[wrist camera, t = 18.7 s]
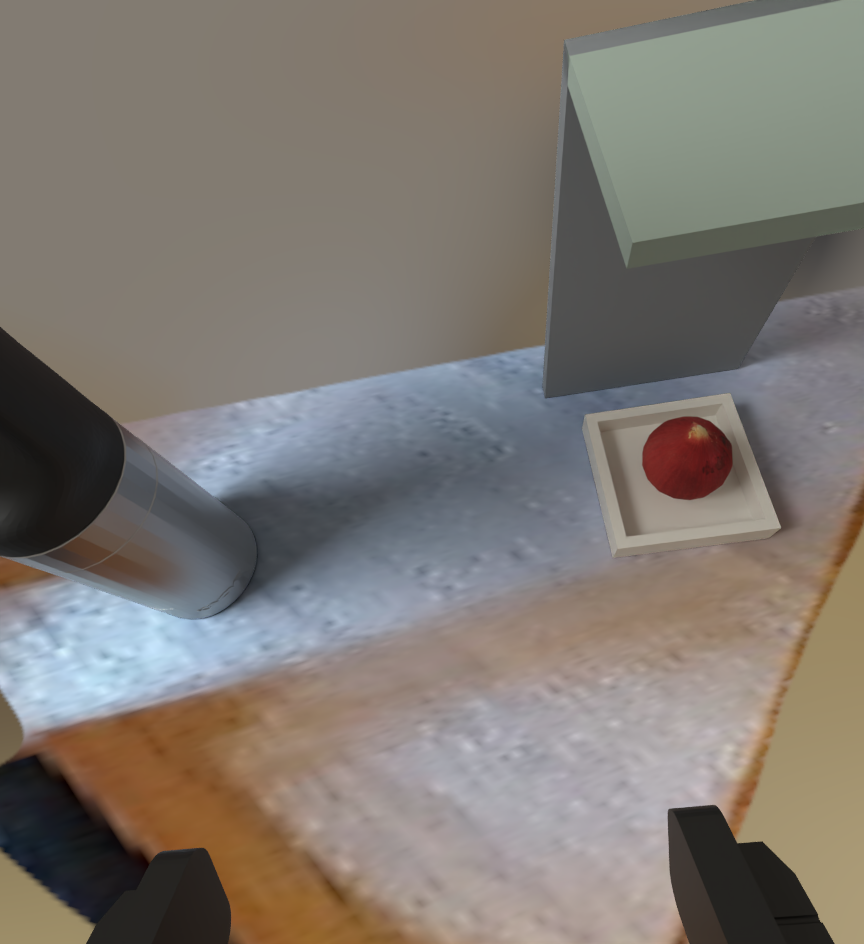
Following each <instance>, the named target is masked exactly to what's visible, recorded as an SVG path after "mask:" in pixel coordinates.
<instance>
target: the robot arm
mask: <svg viewBox="0 0 864 944" xmlns="http://www.w3.org/2000/svg"><path fill="white" fill-rule="evenodd" d="M0 556H1V557H4V558H7V559H10V560H13V561H16V562H19V563H22V564H25V565H28V566H30V567H33V568H36V569H40V570H43V571H46V572H49V573H51V574H54V575H57V576H60V577H63V578H66V579H69V580H72V581H75V582H78V583H80V584H83V585H86V586H89V587H92V588H95V589H98V590H101V591H104V592H106V593H109V594H112V595H115V596H118V597H121V598H124V599H127V600H130V601H133V602H135V603H138V604H141V605H144V606H147V607H149V608H152V609H155V610H158V611H161V612H164V613H167V614H170V615H173V616H175V617H178V618H184V619H202V618H205V617H208V616H212V615H214V614H216V613H218V612H220V611H222V610H224V609H225V608H227V607H228V606H229V605H230V604H232V603H233V602H234V601H235V600H236V599H237V598H238V597H239V596H240V595H241V594H242V592H243V591H244V590H245V588H246V586H247V585H248V583H249V582H250V580H251V577H252V575H253V572H254V569H255V565H256V559H257V545H256V541H255V537H254V534H253V533H252V531H251V529H250V527H249V526H248V525H247V524H246V522H245V521H244V520H243V519H242V518H240V517H239V516H238V515H236V514H235V513H234V512H233V511H231V510H230V509H229V508H227V507H226V506H225V505H224V504H222V503H221V502H220V501H219V500H217V499H216V498H215V497H214V496H212V495H211V494H210V493H208V492H207V491H206V490H205V489H203V488H202V487H201V486H199V485H198V484H197V483H196V482H194V481H193V480H192V479H190V478H189V477H188V476H187V475H185V474H184V473H183V472H181V471H180V470H179V469H178V468H176V467H175V466H174V465H172V464H171V463H170V462H169V461H167V460H166V459H165V458H163V457H162V456H161V455H160V454H158V453H157V452H156V451H154V450H153V449H152V448H151V447H149V446H148V445H147V444H145V443H144V442H143V441H142V440H140V439H139V438H138V437H136V436H135V435H133V434H132V433H131V432H129V431H128V430H127V429H126V428H124V427H123V426H122V425H120V424H119V423H118V422H116V421H115V420H114V419H113V418H111V417H110V416H109V415H108V414H107V413H105V412H104V411H103V410H101V409H100V408H99V407H98V406H96V405H95V404H94V403H92V402H91V401H90V400H88V399H87V398H86V397H85V396H84V395H82V394H81V393H80V392H79V391H78V390H76V389H75V388H74V387H73V386H72V385H70V384H69V383H68V382H67V381H66V380H64V379H63V378H62V377H61V376H59V375H58V374H57V373H56V372H54V371H53V370H52V369H51V368H50V367H48V366H47V365H46V364H44V363H43V362H42V361H41V360H40V359H38V358H37V357H35V356H34V355H33V354H32V353H31V352H30V351H28V350H27V349H26V348H24V347H23V346H22V345H21V344H20V343H18V342H17V341H16V340H15V339H14V338H13V337H11V336H10V335H9V334H8V333H6V331H4V330H3V329H2V328H1V327H0ZM668 837H669V864H670V877H671V883H672V888H673V893H674V897H675V901H676V904H677V908H678V911H679V915H680V918H681V921H682V923H683V926H684V929H685V932H686V935H687V938H688V941H689V943H690V944H834V942H833V940H832V939H831V937H830V935H829V933H828V931H827V930H826V928H825V926H824V925H823V923H821V922H820V920H819V918H818V914H817V912H816V910H815V908H814V907H813V905H812V903H811V901H810V900H809V898H808V896H807V894H806V892H805V891H804V889H803V887H802V886H801V884H800V882H799V880H798V878H797V877H796V875H795V873H794V872H793V871H792V870H791V869H790V868H788V867H787V866H786V865H785V864H784V863H783V862H782V861H781V860H780V859H779V858H778V857H777V856H776V855H775V854H774V853H773V852H772V851H771V850H770V849H769V848H768V847H767V846H766V845H765V844H764V843H763V842H750V843H738V844H737V842H736V840H735V838H734V836H733V834H732V832H731V830H730V828H729V826H728V824H727V822H726V820H725V818H724V816H723V814H722V812H721V811H720V809H719V808H718V807H717V806H716V805H707V806H696V807H685V808H673V809H669V810H668ZM230 927H231V910H230V904H229V901H228V899H227V896H226V894H225V892H224V889H223V887H222V884H221V882H220V880H219V877H218V875H217V872H216V870H215V867H214V865H213V863H212V860H211V858H210V855H209V853H208V851H207V850H206V849H204V848H194V849H182V850H171V851H162V852H160V853H158V854H157V855H156V856H155V857H154V859H153V860H152V861H151V863H150V865H149V867H148V869H147V870H146V872H145V874H144V876H143V878H142V880H141V882H140V884H139V886H138V888H137V890H134V891H125V892H124V893H123V894H122V896H121V897H120V898H119V899H118V900H117V901H116V903H115V904H114V905H113V906H112V907H111V908H110V910H109V911H108V912H107V913H106V914H105V915H104V917H103V918H102V919H101V920H100V921H99V922H98V923H97V925H96V926H95V928H94V930H93V932H92V934H91V936H90V937H89V939H88V941H87V943H86V944H228V940H229V935H230Z"/></svg>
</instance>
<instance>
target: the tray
mask: <svg viewBox="0 0 864 944" xmlns="http://www.w3.org/2000/svg"><path fill="white" fill-rule="evenodd" d="M683 416H694V417H700V418H703V419H706V420H709V421H711V422H712V423H713V424H714V425H715V426H716V427H718V428H719V429H720V430H721V431H722V432H723V433H724V434H725V436H726V437H727V439H728V440H729V441H730V443H731V444H732V457H733V466H732V469H731V471H730V473H729V475H728V477H727V478H726V480H725V482H724V483H723V485H722V486H720V487H719V488H718V489H716V490H715V491H713V492H712V493H710V494H709V495H707V496H705V497H703V498H698V499H693V500H683V499H675V498H672V497H670V496H667V495H665V494H663V493H661V492H659V491H658V490H657V489H656V488H655V487H654V486H653V485H652V484H651V483H650V481H649V480H648V479H647V477H646V474H645V471H644V469H643V466H642V452H643V447H644V445H645V443H646V441H647V439H648V437H649V435H650V434H651V433H652V432H653V431H654V430H655V429H656V428H657V427H659V426H660V425H661V424H662V423H663V422H665V421H667V420H670V419H675V418H679V417H683ZM582 431H583V435H584V439H585V443H586V447H587V452H588V456H589V460H590V464H591V468H592V473H593V477H594V481H595V485H596V490H597V494H598V498H599V502H600V506H601V511H602V515H603V519H604V523H605V527H606V532H607V536H608V540H609V544H610V548H611V553H612V557H613V558H618V557H626V556H634V555H641V554H649V553H657V552H665V551H673V550H681V549H689V548H697V547H704V546H712V545H720V544H728V543H736V542H744V541H752V540H760V539H768V538H769V537H771V536H772V535H773V534H774V533H776V532H777V531H778V530H779V529H781V526H780V523H779V521H778V518H777V515H776V513H775V510H774V507H773V505H772V502H771V500H770V497H769V494H768V492H767V489H766V486H765V484H764V481H763V478H762V476H761V473H760V471H759V468H758V465H757V463H756V460H755V457H754V455H753V452H752V450H751V447H750V444H749V442H748V439H747V436H746V434H745V431H744V429H743V426H742V423H741V421H740V418H739V415H738V413H737V410H736V407H735V405H734V402H733V400H732V397H731V394H730V393H726V394H720V395H713V396H706V397H699V398H693V399H686V400H679V401H673V402H666V403H659V404H653V405H646V406H639V407H633V408H626V409H619V410H613V411H606V412H599V413H593V414H586V415H585V417H584V422H583V427H582Z"/></svg>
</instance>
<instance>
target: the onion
mask: <svg viewBox="0 0 864 944" xmlns="http://www.w3.org/2000/svg"><path fill="white" fill-rule="evenodd" d="M642 466H643V469H644V471H645V474H646V477H647V479H648V480H649V481H650V483H651V484H652V485H653V486H654V487H655V488H656V489H657V490H658V491H659V492H661V493H663V494H665V495H667V496H670V497H672V498H675V499H683V500H693V499H698V498H703V497H705V496H707V495H709V494H710V493H712V492H713V491H715V490H716V489H718V488H719V487H720V486H722V485H723V483H724V482H725V480H726V478H727V477H728V475H729V473H730V471H731V469H732V466H733V457H732V444H731V443H730V441H729V440H728V439H727V437H726V436H725V434H724V433H723V432H722V431H721V430H720V429H719V428H718V427H716V426H715V425H714V424H713V423H712V422H711V421H709V420H706V419H703V418H700V417H694V416H683V417H679V418H675V419H670V420H667V421H665V422H663V423H662V424H661V425H660V426H659V427H657V428H656V429H655V430H654V431H653V432H652V433H651V434H650V435H649V437H648V439H647V441H646V443H645V445H644V447H643V452H642Z"/></svg>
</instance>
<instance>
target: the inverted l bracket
mask: <svg viewBox="0 0 864 944" xmlns="http://www.w3.org/2000/svg"><path fill="white" fill-rule="evenodd" d="M863 228H864V0H754V1H749V2H745V3H740V4H735V5H730V6H726V7H721V8H717V9H711V10H706V11H701V12H697V13H692V14H687V15H683V16H677V17H673V18H668V19H663V20H658V21H654V22H649V23H644V24H639V25H634V26H630V27H625V28H620V29H615V30H610V31H605V32H601V33H596V34H591V35H586V36H582V37H577V38H572V39H567V40H564V51H563V67H562V84H561V99H560V116H559V131H558V147H557V163H556V179H555V195H554V211H553V227H552V243H551V259H550V260H551V261H550V275H549V292H548V308H547V323H546V324H547V325H546V340H545V355H544V371H543V391H544V396H545V398H550V397H556V396H563V395H570V394H576V393H583V392H589V391H596V390H602V389H609V388H615V387H622V386H628V385H635V384H641V383H648V382H654V381H661V380H668V379H674V378H681V377H687V376H694V375H700V374H707V373H713V372H720V371H726V370H733V369H738V368H739V366H740V365H741V363H742V361H743V359H744V358H745V356H746V354H747V353H748V351H749V349H750V348H751V346H752V344H753V343H754V341H755V339H756V337H757V336H758V334H759V332H760V331H761V329H762V327H763V326H764V324H765V322H766V321H767V319H768V317H769V316H770V314H771V312H772V310H773V309H774V307H775V305H776V304H777V302H778V300H779V299H780V297H781V295H782V294H783V292H784V290H785V289H786V287H787V285H788V283H789V282H790V280H791V278H792V277H793V275H794V273H795V272H796V270H797V268H798V266H799V265H800V263H801V261H802V260H803V258H804V256H805V255H806V253H807V251H808V250H809V248H810V246H811V245H812V243H813V241H814V240H815V238H816V236H822V235H828V234H833V233H839V232H845V231H851V230H857V229H863Z"/></svg>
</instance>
